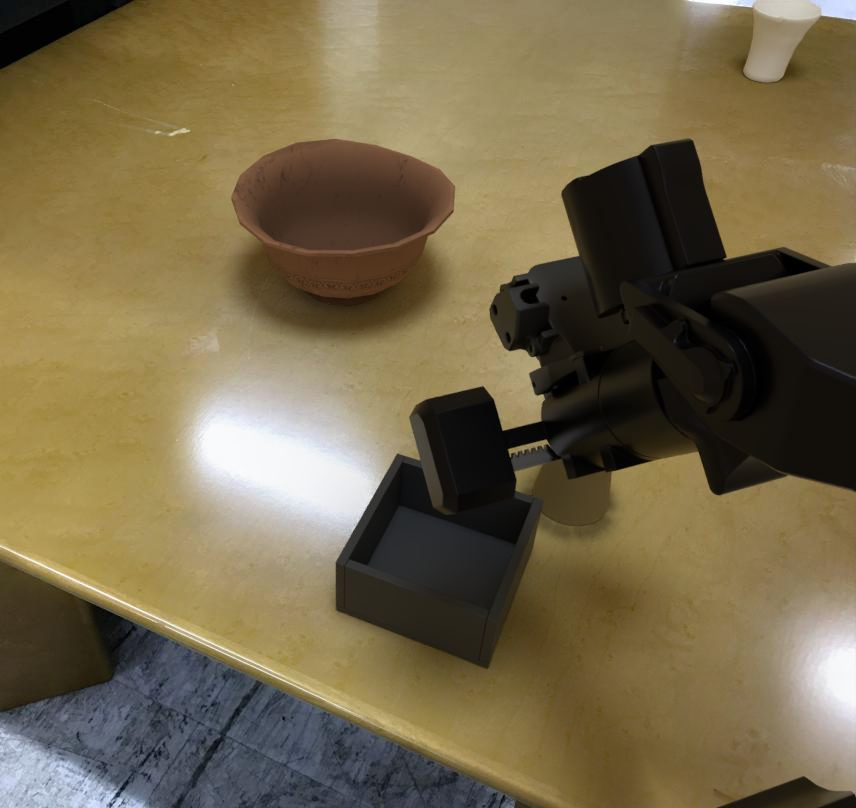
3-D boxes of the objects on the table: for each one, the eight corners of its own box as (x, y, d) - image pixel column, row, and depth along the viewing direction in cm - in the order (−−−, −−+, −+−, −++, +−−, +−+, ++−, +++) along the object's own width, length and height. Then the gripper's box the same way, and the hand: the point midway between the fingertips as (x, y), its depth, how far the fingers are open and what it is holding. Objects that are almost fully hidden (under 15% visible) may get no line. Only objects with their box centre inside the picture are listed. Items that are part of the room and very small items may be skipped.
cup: (725, 81, 130) (747, 10, 123) (740, 59, 135) (761, -11, 129) (790, 94, 126) (816, 21, 119) (803, 70, 132) (828, 0, 125)
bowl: (385, 208, 106) (388, 120, 98) (489, 308, 91) (502, 213, 84) (209, 256, 99) (199, 165, 92) (291, 372, 84) (286, 275, 77)
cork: (593, 537, 69) (624, 436, 62) (520, 506, 72) (540, 405, 64) (618, 487, 73) (650, 386, 65) (548, 459, 75) (571, 358, 68)
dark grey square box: (532, 548, 69) (544, 499, 65) (487, 669, 61) (497, 622, 57) (394, 501, 72) (397, 452, 69) (335, 609, 65) (335, 562, 61)
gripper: (768, 205, 45) (615, 293, 61) (426, 275, 41) (354, 350, 57) (838, 417, 44) (663, 452, 59) (491, 510, 40) (399, 522, 55)
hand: (522, 440), depth 58 cm, fingers open, 9 cm apart
